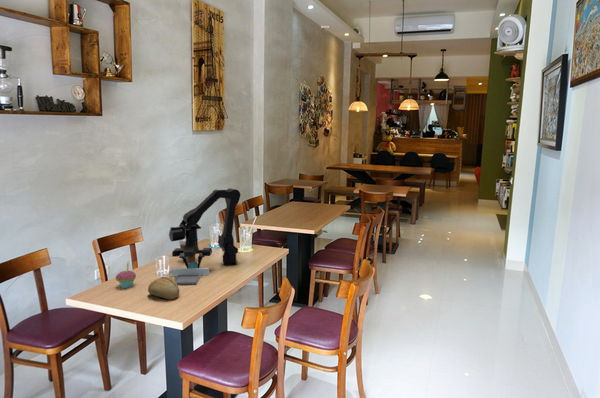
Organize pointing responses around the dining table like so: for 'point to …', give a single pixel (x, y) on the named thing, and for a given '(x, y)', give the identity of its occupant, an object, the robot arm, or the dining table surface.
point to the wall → (190, 271)
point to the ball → (193, 264)
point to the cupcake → (126, 278)
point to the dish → (187, 279)
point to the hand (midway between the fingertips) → (193, 268)
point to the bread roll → (164, 288)
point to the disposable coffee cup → (182, 245)
